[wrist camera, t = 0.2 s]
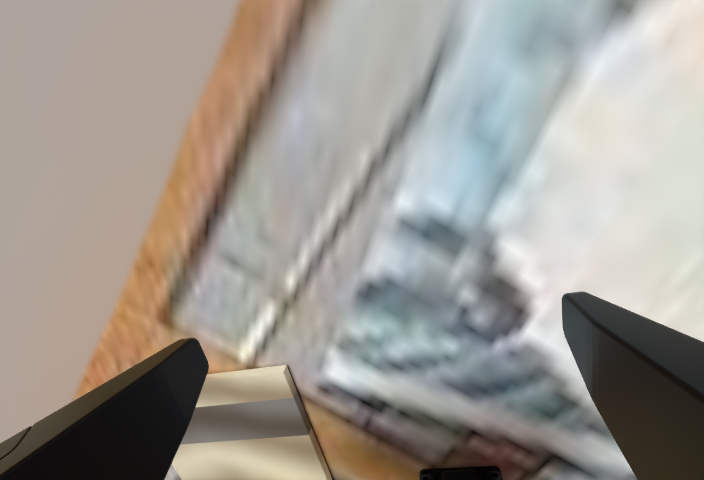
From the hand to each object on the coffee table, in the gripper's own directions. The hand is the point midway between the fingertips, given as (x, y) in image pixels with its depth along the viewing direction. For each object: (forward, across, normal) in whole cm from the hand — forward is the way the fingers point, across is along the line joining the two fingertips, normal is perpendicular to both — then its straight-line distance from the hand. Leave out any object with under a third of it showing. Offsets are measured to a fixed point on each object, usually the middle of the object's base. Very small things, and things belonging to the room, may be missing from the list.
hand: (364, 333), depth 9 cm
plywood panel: (+14, +17, +22) cm, 32 cm away
